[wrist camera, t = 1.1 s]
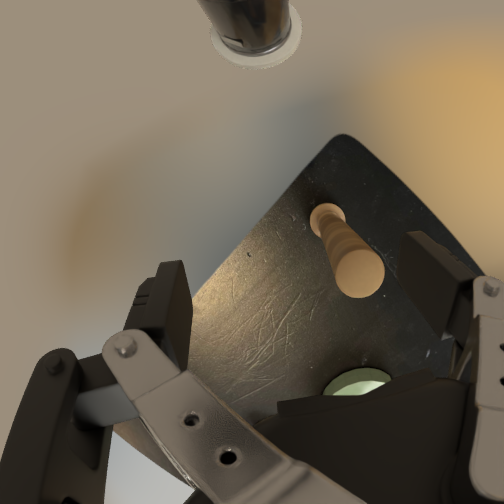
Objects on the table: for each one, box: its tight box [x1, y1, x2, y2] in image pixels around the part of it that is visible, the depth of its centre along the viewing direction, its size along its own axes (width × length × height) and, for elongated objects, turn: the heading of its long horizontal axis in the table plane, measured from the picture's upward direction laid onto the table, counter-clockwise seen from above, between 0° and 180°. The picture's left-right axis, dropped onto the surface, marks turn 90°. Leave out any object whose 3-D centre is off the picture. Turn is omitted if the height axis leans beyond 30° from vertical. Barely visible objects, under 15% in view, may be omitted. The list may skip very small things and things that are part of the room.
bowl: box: [323, 368, 392, 395], centre depth 43 cm, size 12×12×4 cm
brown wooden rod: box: [310, 203, 384, 298], centre depth 28 cm, size 4×4×24 cm
